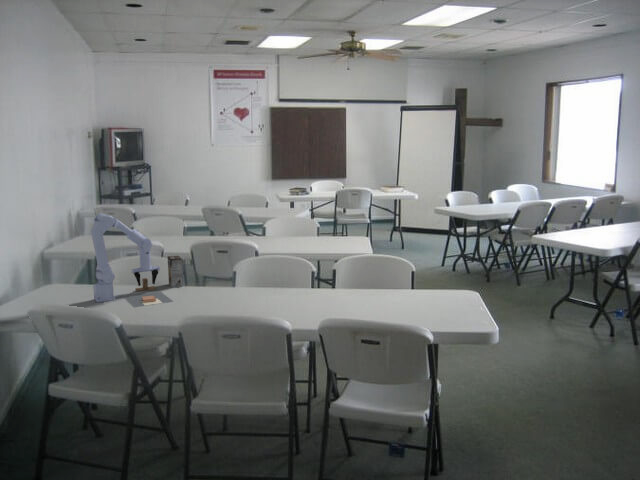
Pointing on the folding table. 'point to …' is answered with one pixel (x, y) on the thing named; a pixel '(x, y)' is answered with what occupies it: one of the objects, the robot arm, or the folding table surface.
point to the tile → (148, 299)
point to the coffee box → (175, 271)
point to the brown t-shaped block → (145, 286)
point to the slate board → (137, 302)
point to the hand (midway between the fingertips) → (146, 284)
